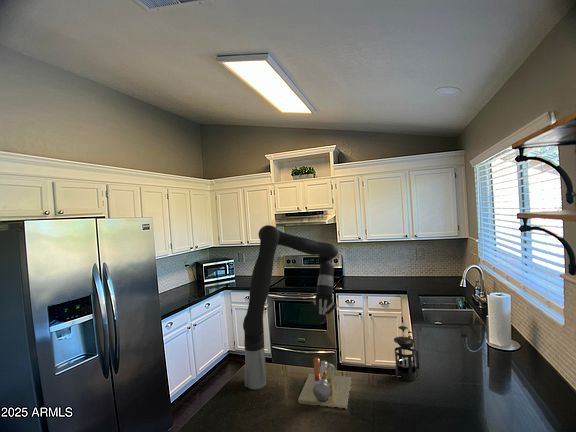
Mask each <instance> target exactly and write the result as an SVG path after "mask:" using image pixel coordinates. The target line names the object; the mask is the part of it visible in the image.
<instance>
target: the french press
mask: <svg viewBox="0 0 576 432" xmlns="http://www.w3.org/2000/svg"><path fill="white" fill-rule="evenodd" d="M398 329H399V330H401V331H402V336H396V337H394V338H393V341H394V342H395V343H396V344H397V345H398V347H395V348H394V355H395V356H394V358H395V359H394V360H395V377H396V376H401V377H396V378H397V379H398V380H400V381H403V382H415V381H417V378H418V376H417V370H419V369H420V360H419V359H420V358H419V350H418V349H417V348H413V347H414V343H415V340H414V339H413V338H412V337H409V336H405V330H408V329H409V328H408V326H404V325H401V326H398ZM397 351H398V352H397ZM406 351H410V352H411V354H410V353H409V354H406ZM403 353H404V354H403Z"/></svg>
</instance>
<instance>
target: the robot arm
mask: <svg viewBox="0 0 576 432" xmlns="http://www.w3.org/2000/svg"><path fill="white" fill-rule="evenodd" d="M257 236H258V238H259V240H260V241H259V242H260V243H259V249H258V250H259V251H258V255H257V258H256V261H255V263H254V266H253V269H252V273H251V279H250V284H249V298H248V300H249V301H248V307H247V310H246V315H245V316H244V318H243V322H242V329H243V332H244V339H243V340H244V344H243V345H244V358H245V359H244V360H245V361H244V362H245V365H243V373H244V374H243V377H244V387H245V388H248V389H250V390H260V389H262V388H265V386H266V385H267V370H266V369H267V367H266V353H265V334H264V333H265V331H264V314H265V313H264V311H265V306H266V302H267V300H268V299H267V298H268V294H269V291H270V286H271V282H272V277H273V276H272V275H273V271H274V270H273V269H274V258H275V254H276V250H277V248H278V247H277V246H278V245H279V246H283V247H287V248H289V249H292V250H294V251H295V250H296V251H298V252H301V253H303V254H307V255H312V256H318V259H319V260H318V261H319V262H318V263H319V272H318V278H317V286H316V295H315V296H314V299H313V300H310V302H309V303H310V304H311V306H312V309H314V311H315V313H317V314H318V322H319V324H322V325H323V324H324V323H326V316H327V315H330V314H331V313H332V312H333V311H334V310H335V309H336V308H337V307H338V305H337V304H336V303H335V302H334V299H333V291H334V285H335V284H334V283H335V282H334V280H335V279H334V276H335V275H334V274H335V266H334V265H333V264H332V263H333V262H332V259H335V258H336V257H337V256H338V253H339V250H338V247H336V246H335V245H334V244H332V243H330V242H329V243H328V242H324V241H323V242H321V241H316V240H312V239H309V238H307V237H306V238H305V237H301V236H298V235H293V234H289V233H286V232H283V231H281V230H279V229H278V228H277V227H275V226H273V225H269V224H268V225H264V226H262V227H261V228H260V229H259V230H258V234H257ZM316 304H317V306H318V307H317V306H316ZM329 307H330V308H329ZM328 308H329V309H328Z"/></svg>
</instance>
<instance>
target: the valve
mask: <svg viewBox="0 0 576 432" xmlns="http://www.w3.org/2000/svg"><path fill="white" fill-rule="evenodd" d="M327 365H328V366H327V367H325V370H324V373H323V376H322V378H321V381H320V384H315V376H314V373H308V376H307V378H306V381H304V382H305V383H304V384H303V387H302V389H301V392H300V394H299V396H298V399H297V404H301V405H310V406H317V405H320V406H319V407H325V406H328V408H334V407H338V408H337V409H342V408H345V409H344V410H348V406H349V405H348V404H349V400H350V393H349V391H350V392H351V387H350V385H351V386H352V381H351V379H352V377H350V376H344V375H343V376H342V375H336V373H337V369H336V367H335V365H334V364H333V363H330V362H327ZM348 399H349V400H348ZM347 405H348V406H347Z"/></svg>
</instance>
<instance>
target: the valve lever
mask: <svg viewBox="0 0 576 432" xmlns="http://www.w3.org/2000/svg"><path fill="white" fill-rule="evenodd" d="M327 363H328V361H327V360H321V359H320V357H319V356H318V357H316V356H315V357H313V372H314V373H313V374H314V376H315V384H320V381H321V378H322V376H323V373H324V370H325V367H327V366H328V365H327Z"/></svg>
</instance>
